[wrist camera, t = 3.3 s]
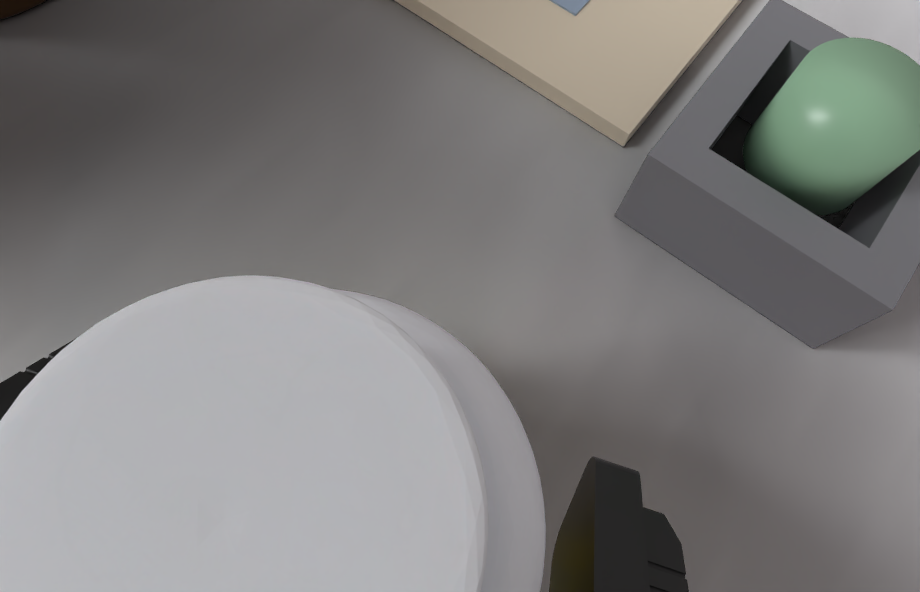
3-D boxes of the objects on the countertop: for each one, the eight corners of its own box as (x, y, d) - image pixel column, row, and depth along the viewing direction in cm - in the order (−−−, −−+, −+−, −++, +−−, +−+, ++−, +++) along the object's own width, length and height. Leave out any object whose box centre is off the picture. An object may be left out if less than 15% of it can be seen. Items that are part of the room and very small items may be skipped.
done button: (720, 169, 15) (770, 104, 13) (778, 90, 16) (835, 15, 14) (831, 238, 15) (905, 183, 12) (885, 153, 15) (964, 86, 13)
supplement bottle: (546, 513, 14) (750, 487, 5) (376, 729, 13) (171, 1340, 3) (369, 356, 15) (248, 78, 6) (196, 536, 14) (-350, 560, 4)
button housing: (614, 215, 17) (647, 154, 14) (723, 75, 19) (773, -5, 16) (813, 348, 16) (892, 309, 13) (910, 185, 18) (1000, 120, 15)
